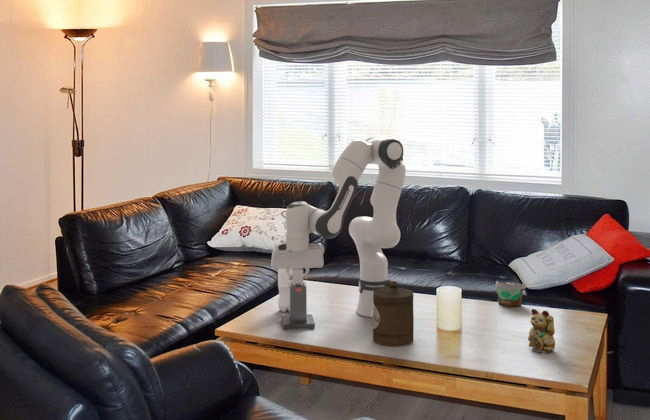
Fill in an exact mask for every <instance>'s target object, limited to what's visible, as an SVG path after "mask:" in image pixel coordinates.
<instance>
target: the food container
mask: <svg viewBox="0 0 650 420" xmlns="http://www.w3.org/2000/svg"><path fill="white" fill-rule="evenodd" d="M495 287H496V290H497V302H498V305H499V306H500V307H503V308H509V309H510V308H511V309H512V308H520V307H521V306H522V301H523V294H524V289H525V288H526V284H525V282H523V283H519V284H518V283H514V282H500V281H498V280H497V281H496V282H495Z"/></svg>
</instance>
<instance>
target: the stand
mask: <svg viewBox="0 0 650 420" xmlns="http://www.w3.org/2000/svg"><path fill="white" fill-rule="evenodd" d="M307 305H308V304H307V284H306V282H305V281H303V286H301V284H297V285H296V286H292V283H289V311H288V312H289V314H287V315H285V314H284V315H281V323H282V328H283V331H284V330H305V329H306V330H307V329H316V323H315V319H314V317H313V314H310V313H309V314H308V313H307Z"/></svg>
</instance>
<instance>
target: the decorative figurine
mask: <svg viewBox="0 0 650 420" xmlns="http://www.w3.org/2000/svg"><path fill="white" fill-rule="evenodd" d="M530 324H531V325H532V327H531V328H530V330H529V331H528V337H527V339H528V342H529V343H528V347H530V348H532V351H533V350H534V351H533V352H536V351H538V352H537V353H540V352H542V353H541V354H546V352H547V353H550V352H549V351H551V352H553V350H555V347H556V340H555V337H554V335H555V323H554V316H552V315H550V313H549V311H548V310H543V311H542V312H539V311H538V309H535V308H532V309H531V318H530Z"/></svg>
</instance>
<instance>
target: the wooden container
mask: <svg viewBox="0 0 650 420" xmlns="http://www.w3.org/2000/svg"><path fill="white" fill-rule="evenodd" d="M389 286H390V287H385V288H379V289H376V290H374V292H373V318H372V340H373V342H374V343H376V344H379V345H381V346H384V347H385V346H386V347H404V346H408V345H410V344H411V343H413V342H414V327H415V326H414V325H415V323H414V319H415V318H414V291H413V290H411V289H410V288H409V289H408V288H404V287H399V283H398V282H397V281H395V280H392V281H391V282H390V283H389Z"/></svg>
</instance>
